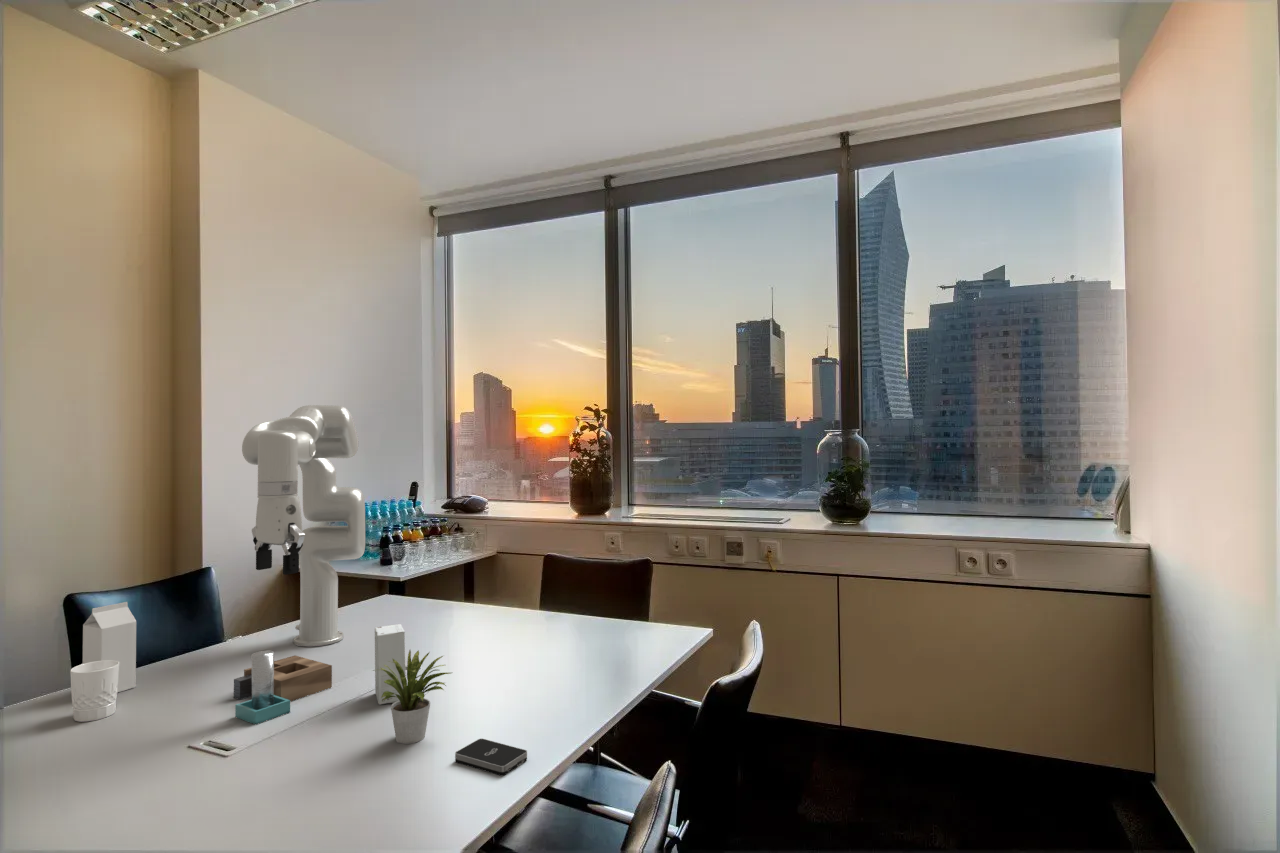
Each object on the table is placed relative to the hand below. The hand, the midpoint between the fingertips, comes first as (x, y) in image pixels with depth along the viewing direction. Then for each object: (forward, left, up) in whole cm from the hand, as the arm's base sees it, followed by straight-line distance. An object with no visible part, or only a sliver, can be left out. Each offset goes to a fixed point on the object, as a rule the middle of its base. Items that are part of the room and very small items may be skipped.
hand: (277, 571), depth 148 cm
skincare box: (+16, +16, -28) cm, 36 cm away
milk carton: (-41, -14, -28) cm, 52 cm away
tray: (+2, -4, -28) cm, 29 cm away
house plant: (+37, +3, -28) cm, 47 cm away
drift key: (-11, +2, -28) cm, 31 cm away
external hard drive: (+56, +5, -29) cm, 63 cm away
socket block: (-6, +7, -28) cm, 30 cm away
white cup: (-27, -22, -28) cm, 45 cm away
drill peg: (+2, -4, -28) cm, 28 cm away
